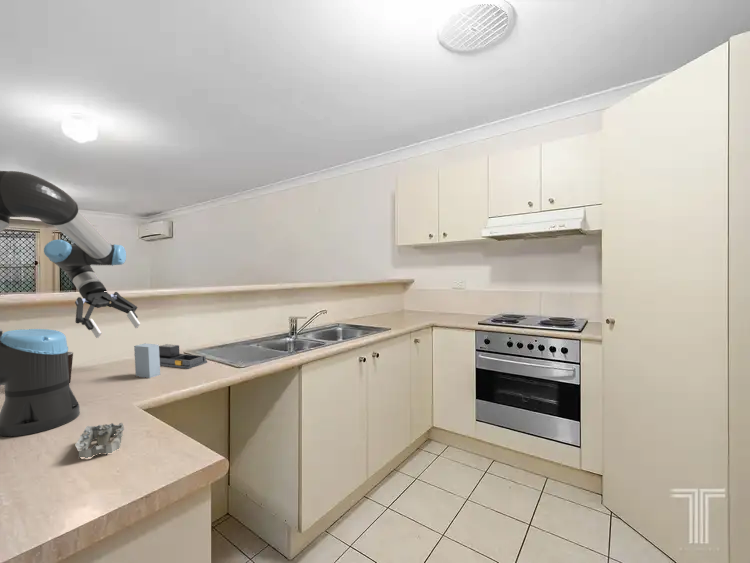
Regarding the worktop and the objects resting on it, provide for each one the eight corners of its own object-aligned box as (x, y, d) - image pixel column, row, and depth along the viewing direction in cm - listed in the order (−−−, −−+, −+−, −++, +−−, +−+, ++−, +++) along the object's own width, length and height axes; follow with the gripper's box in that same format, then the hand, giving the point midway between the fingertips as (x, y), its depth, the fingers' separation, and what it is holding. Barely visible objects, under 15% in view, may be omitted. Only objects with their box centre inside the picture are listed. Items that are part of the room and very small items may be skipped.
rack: (188, 368, 132) (187, 350, 132) (148, 364, 140) (148, 347, 139) (207, 362, 141) (206, 345, 140) (168, 358, 148) (168, 342, 148)
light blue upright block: (149, 378, 122) (148, 347, 121) (135, 376, 124) (134, 345, 124) (160, 374, 126) (158, 344, 125) (146, 372, 128) (145, 343, 128)
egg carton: (119, 454, 73) (118, 435, 72) (72, 465, 69) (71, 445, 69) (127, 433, 82) (126, 416, 82) (86, 441, 78) (85, 423, 78)
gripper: (120, 288, 144) (148, 328, 141) (45, 298, 121) (76, 346, 118) (128, 276, 141) (156, 317, 138) (53, 284, 118) (84, 333, 115)
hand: (119, 330), depth 128 cm, fingers open, 13 cm apart
